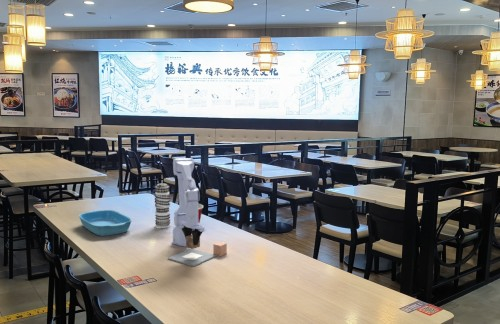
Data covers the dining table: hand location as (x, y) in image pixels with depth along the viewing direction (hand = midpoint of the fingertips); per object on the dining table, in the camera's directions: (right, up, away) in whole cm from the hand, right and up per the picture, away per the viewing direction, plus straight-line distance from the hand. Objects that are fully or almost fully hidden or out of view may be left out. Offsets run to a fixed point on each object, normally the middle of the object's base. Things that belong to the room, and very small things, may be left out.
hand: (192, 243), depth 198 cm
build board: (0, -7, +1) cm, 7 cm away
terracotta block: (+12, -6, +7) cm, 16 cm away
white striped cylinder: (-24, 0, +52) cm, 57 cm away
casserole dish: (-56, -1, +46) cm, 72 cm away
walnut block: (0, -2, +1) cm, 2 cm away
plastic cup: (-6, 0, +54) cm, 54 cm away
